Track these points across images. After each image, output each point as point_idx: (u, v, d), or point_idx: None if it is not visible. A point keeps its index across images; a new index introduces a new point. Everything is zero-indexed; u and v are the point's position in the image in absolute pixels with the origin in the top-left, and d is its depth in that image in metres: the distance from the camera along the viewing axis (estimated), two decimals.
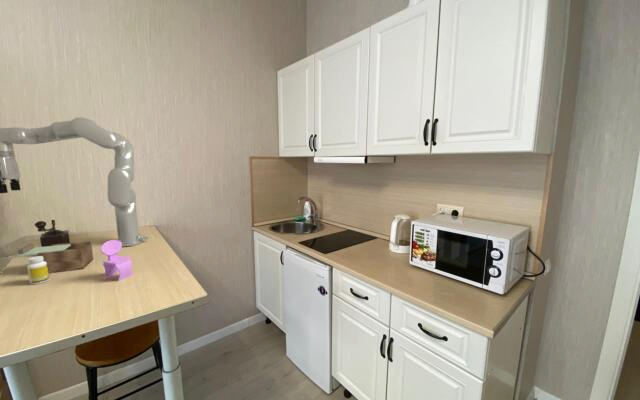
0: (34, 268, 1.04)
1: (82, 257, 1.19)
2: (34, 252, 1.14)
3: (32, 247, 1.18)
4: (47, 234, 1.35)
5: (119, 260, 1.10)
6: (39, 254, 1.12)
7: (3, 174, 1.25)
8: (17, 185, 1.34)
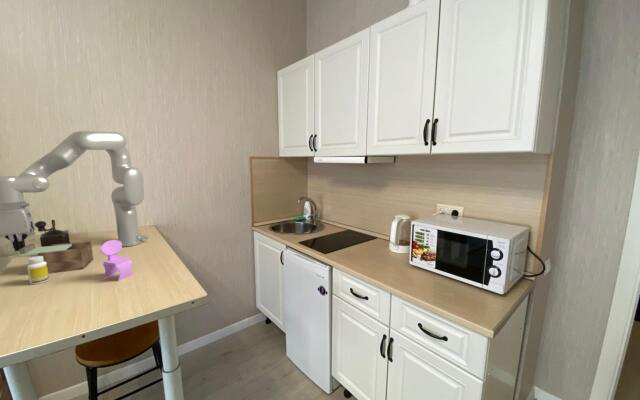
0: (34, 268, 1.04)
1: (82, 257, 1.19)
2: (36, 252, 1.14)
3: (33, 247, 1.18)
4: (47, 234, 1.35)
5: (119, 260, 1.10)
6: (39, 254, 1.12)
7: None
8: None
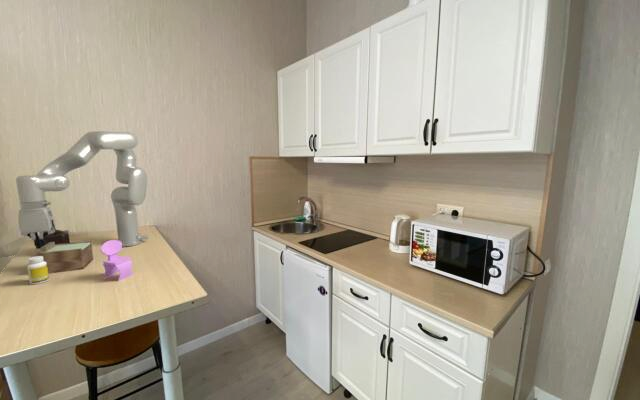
0: (34, 268, 1.04)
1: (82, 257, 1.19)
2: (56, 250, 1.17)
3: (53, 245, 1.21)
4: None
5: (119, 260, 1.10)
6: (39, 254, 1.12)
7: None
8: None
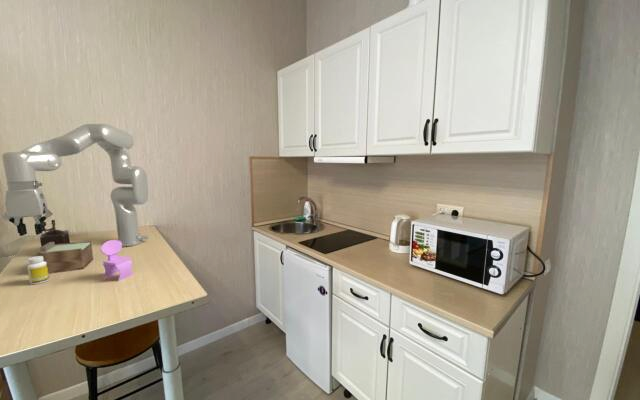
0: (34, 268, 1.04)
1: (82, 257, 1.19)
2: (56, 250, 1.16)
3: (53, 245, 1.21)
4: (47, 234, 1.35)
5: (119, 260, 1.10)
6: (39, 254, 1.12)
7: None
8: (25, 228, 1.04)
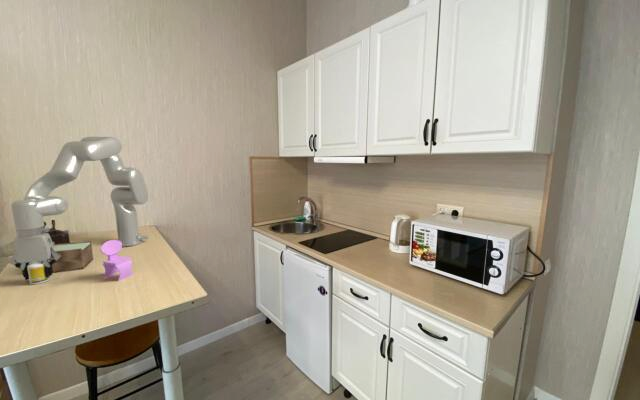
0: (34, 268, 1.04)
1: (82, 257, 1.19)
2: (56, 250, 1.16)
3: (53, 245, 1.21)
4: None
5: (119, 260, 1.10)
6: None
7: None
8: None
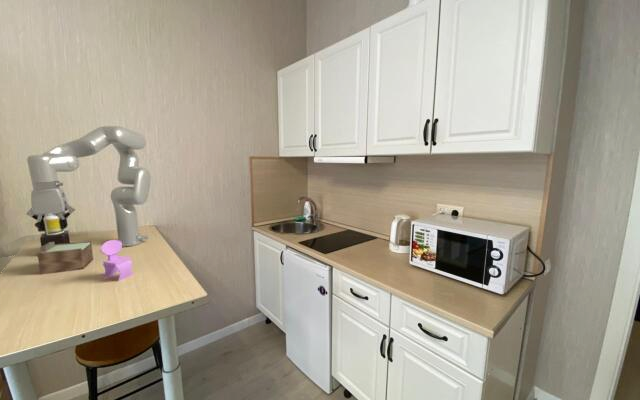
0: (50, 219, 1.11)
1: (82, 257, 1.19)
2: (56, 250, 1.16)
3: (53, 245, 1.21)
4: None
5: (119, 260, 1.10)
6: (39, 254, 1.12)
7: None
8: None
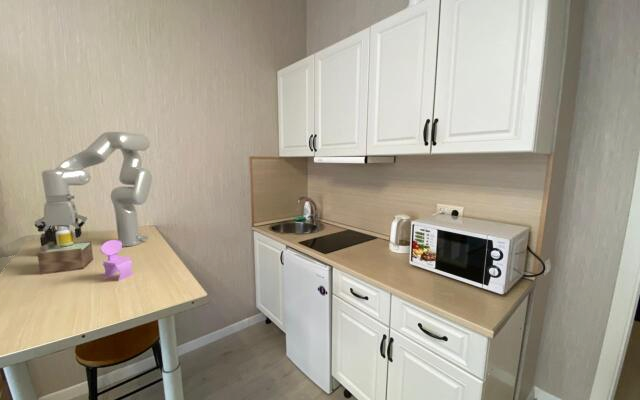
0: (62, 234, 1.17)
1: (82, 257, 1.19)
2: (56, 250, 1.16)
3: (53, 245, 1.21)
4: None
5: (119, 260, 1.10)
6: (39, 254, 1.12)
7: None
8: (51, 233, 1.18)
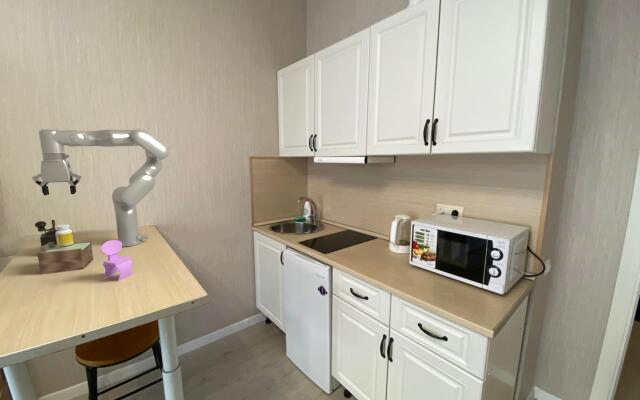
0: (62, 234, 1.17)
1: (82, 257, 1.19)
2: (56, 250, 1.16)
3: (53, 245, 1.21)
4: (47, 234, 1.35)
5: (119, 260, 1.10)
6: (39, 254, 1.12)
7: None
8: (48, 189, 1.27)
